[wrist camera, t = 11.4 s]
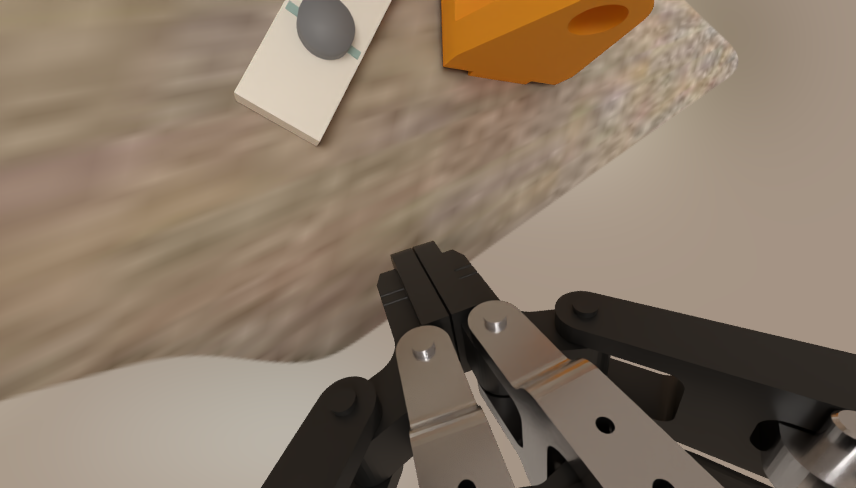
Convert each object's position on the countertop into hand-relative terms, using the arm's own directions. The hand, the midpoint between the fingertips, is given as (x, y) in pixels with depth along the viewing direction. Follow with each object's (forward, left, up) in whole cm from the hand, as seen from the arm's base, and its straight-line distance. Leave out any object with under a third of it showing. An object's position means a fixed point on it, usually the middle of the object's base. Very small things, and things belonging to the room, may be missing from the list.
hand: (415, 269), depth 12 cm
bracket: (+4, +20, -13) cm, 25 cm away
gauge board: (-7, +17, -13) cm, 22 cm away
